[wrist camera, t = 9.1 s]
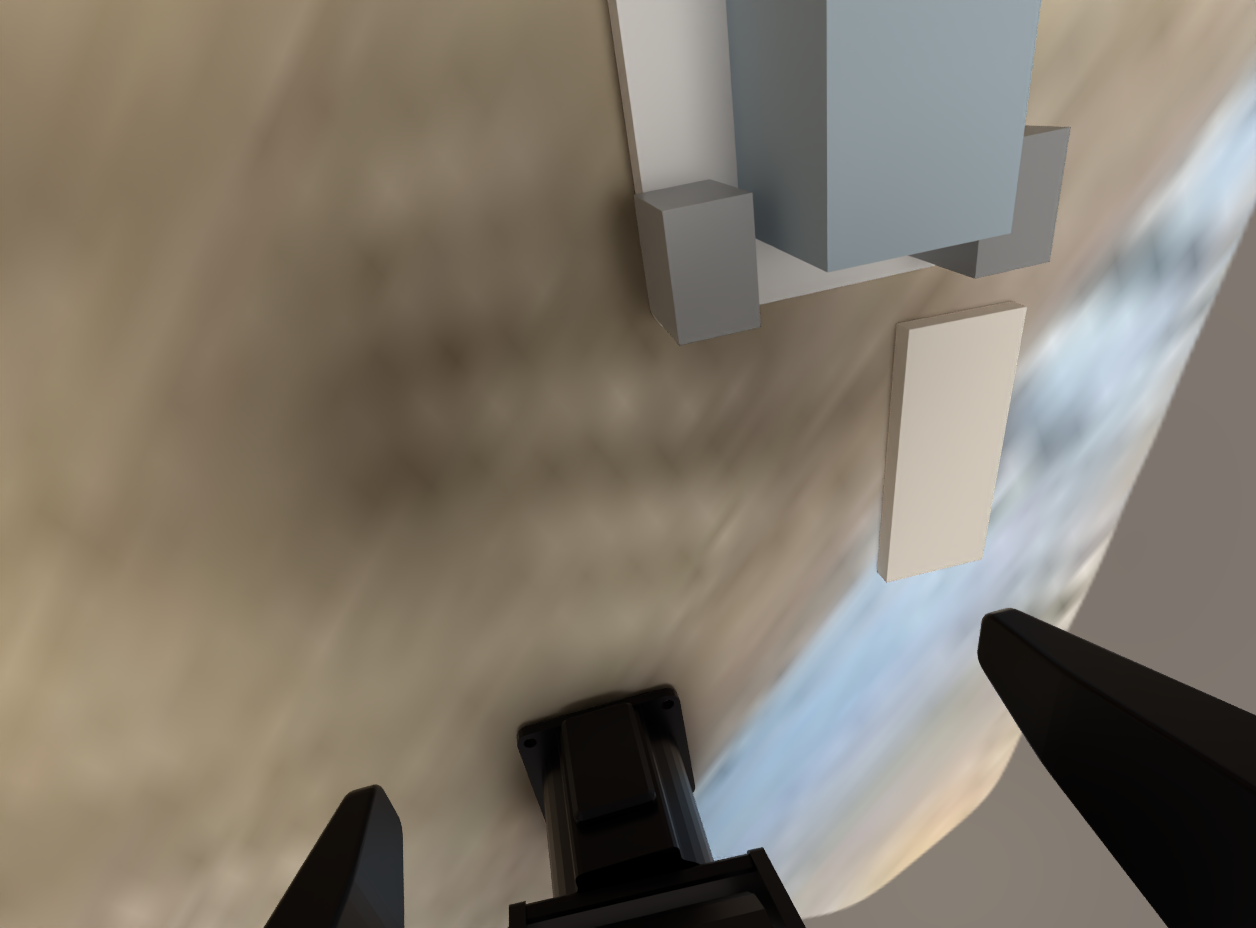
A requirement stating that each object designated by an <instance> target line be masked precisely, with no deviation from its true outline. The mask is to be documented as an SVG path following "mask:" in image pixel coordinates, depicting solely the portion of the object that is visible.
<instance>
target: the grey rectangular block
mask: <svg viewBox="0 0 1256 928" xmlns="http://www.w3.org/2000/svg"><path fill="white" fill-rule="evenodd" d="M1040 6H1041V0H726V11H727V26H728V41H729V56H730V72H731V87H732V102H733V117H734V132H735V147H736V162H737V177H738V188H739V189H743V190H746V191H749V192H752V193H753V208H754V225H755V238H756V239H758V240H760V241H762V242H764V243H766V244H769V245H771V246H773V247H775V248H777V249H779V250H781V251H783V252H785V253H787V254H790V255H792V256H794V257H796V258H798V259H800V260H802V261H804V262H806V263H809V264H811V265H813V266H815V267H817V268H819V269H821V270H823V271H825V272H832V271H837V270H842V269H846V268H851V267H856V266H860V265H865V264H870V263H874V262H879V261H884V260H888V259H893V258H898V257H902V256H907V255H912V254H916V253H921V252H926V251H930V250H935V249H940V248H944V247H949V246H954V245H958V244H963V243H968V242H972V241H977V240H982V239H986V238H991V237H996V236H1000V235H1005V234H1010V233H1011V229H1012V222H1013V214H1014V206H1015V198H1016V191H1017V183H1018V175H1019V168H1020V160H1021V152H1022V145H1023V137H1024V129H1025V121H1026V114H1027V106H1028V98H1029V91H1030V83H1031V75H1032V68H1033V60H1034V52H1035V44H1036V37H1037V29H1038V21H1039V14H1040Z"/></svg>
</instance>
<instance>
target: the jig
mask: <svg viewBox="0 0 1256 928" xmlns="http://www.w3.org/2000/svg"><path fill="white" fill-rule="evenodd" d="M607 1H608V7H609V14H610V21H611V28H612V35H613V42H614V49H615V56H616V63H617V70H618V77H619V84H620V91H621V97H622V104H623V111H624V118H625V125H626V132H627V139H628V146H629V153H630V160H631V167H632V174H633V181H634V188H635V194H634V195H633V197H634V204H635V211H636V217H637V224H638V231H639V238H640V245H641V252H642V258H643V265H644V272H645V279H646V286H647V293H648V300H649V306H650V311H651V313H652V314H653V317H654V318H655V320H656V321H657V322H658V323H659V324H660V326H661V327H664V328H665V329H666V330H667V332H668V333H669V334H670V335H671V336H672V337H673V339H674V340H675V341H676V342H677V343H678V345H684V344H688V343H693V342H697V341H702V340H706V339H710V338H715V337H719V336H724V335H728V334H732V333H737V332H741V331H746V330H750V329H755V328H759V327H761V323H760V306H759V305H761V304H766V303H770V302H775V301H779V300H784V299H788V298H793V297H797V296H802V295H806V294H811V293H815V292H820V291H824V290H829V289H833V288H838V287H842V286H847V285H851V284H856V283H860V282H865V281H869V280H874V279H878V278H883V277H887V276H892V275H896V274H900V273H905V272H909V271H914V270H918V269H923V268H927V267H932V266H936V265H937V266H940V267H943V268H946V269H949V270H952V271H955V272H957V273H960V274H963V275H966V276H969V277H972V278H975V279H976V278H980V277H984V276H989V275H993V274H998V273H1002V272H1007V271H1011V270H1015V269H1020V268H1024V267H1029V266H1033V265H1037V264H1042V263H1046V262H1050V256H1051V250H1052V243H1053V237H1054V230H1055V224H1056V218H1057V211H1058V205H1059V198H1060V192H1061V186H1062V179H1063V173H1064V166H1065V160H1066V154H1067V147H1068V141H1069V135H1070V128H1071V127H1052V126H1025V129H1024V137H1023V145H1022V152H1021V160H1020V168H1019V175H1018V183H1017V191H1016V198H1015V206H1014V214H1013V222H1012V229H1011V233H1010V234H1005V235H1000V236H996V237H991V238H986V239H982V240H977V241H972V242H968V243H963V244H958V245H954V246H949V247H944V248H940V249H935V250H930V251H926V252H921V253H916V254H912V255H907V256H902V257H898V258H893V259H888V260H884V261H879V262H874V263H870V264H865V265H860V266H856V267H851V268H846V269H842V270H837V271H832V272H825V271H823V270H821V269H819V268H817V267H815V266H813V265H811V264H809V263H806V262H804V261H802V260H800V259H798V258H796V257H794V256H792V255H790V254H787V253H785V252H783V251H781V250H779V249H777V248H775V247H773V246H771V245H769V244H766V243H764V242H762V241H760V240H758V239H756V238H755V225H754V208H753V193H752V192H749V191H746V190H743V189H739V188H738V177H737V162H736V147H735V132H734V117H733V102H732V87H731V72H730V56H729V41H728V26H727V11H726V0H607Z"/></svg>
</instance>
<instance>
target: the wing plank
mask: <svg viewBox="0 0 1256 928" xmlns="http://www.w3.org/2000/svg"><path fill="white" fill-rule="evenodd" d="M1026 310H1027V306H1024V305H1021V304H1018V303H1016V302H1013V301H1010V302H1005V303H1000V304H995V305H989V306H984V307H979V308H974V309H969V310H964V311H958V312H953V313H948V314H943V315H938V316H933V317H927V318H922V319H917V320H912V321H907V322H902V323H897V325H896V337H895V350H894V363H893V375H892V388H891V401H890V413H889V426H888V439H887V451H886V464H885V477H884V489H883V502H882V515H881V527H880V540H879V552H878V565H877V572H878V573H879V574H880V576H881V577H882V578H883V579H884V580H885V581H886V583H887V582H891V581H895V580H899V579H903V578H907V577H911V576H915V575H919V574H923V573H928V572H932V571H936V570H940V569H944V568H948V567H952V566H956V565H960V564H964V563H968V562H972V561H977V560H981V559H982V557H983V551H984V546H985V540H986V535H987V529H988V523H989V518H990V512H991V507H992V501H993V495H994V490H995V484H996V478H997V473H998V467H999V462H1000V456H1001V450H1002V445H1003V439H1004V434H1005V428H1006V422H1007V417H1008V411H1009V406H1010V400H1011V394H1012V389H1013V383H1014V377H1015V372H1016V366H1017V361H1018V355H1019V349H1020V344H1021V338H1022V333H1023V327H1024V321H1025V316H1026Z"/></svg>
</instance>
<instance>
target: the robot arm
mask: <svg viewBox="0 0 1256 928" xmlns="http://www.w3.org/2000/svg"><path fill="white" fill-rule="evenodd" d="M977 654H978V660H979V663H980V665H981V667H982V669H983V671H984V673H985V674H986V676H987V677H988V679H989V681H990V682H991V684H992V685H993V687H994V689H995V690H996V692H997V693H998V695H999V697H1000V698H1001V700H1002V701H1003V703H1004V705H1005V706H1006V708H1007V709H1008V711H1009V713H1010V714H1011V716H1012V717H1013V719H1014V720H1015V722H1016V724H1017V725H1018V727H1019V728H1020V730H1021V732H1022V733H1023V735H1024V736H1025V738H1026V740H1027V741H1028V743H1029V744H1030V746H1031V747H1032V749H1033V750H1034V752H1035V754H1036V755H1037V757H1038V758H1039V759H1040V761H1041V762H1042V764H1043V765H1044V766H1045V768H1046V769H1047V770H1048V772H1049V773H1050V775H1051V776H1052V777H1053V779H1054V780H1055V781H1056V782H1057V784H1058V785H1059V786H1060V788H1061V789H1062V790H1063V792H1064V793H1065V794H1066V795H1067V797H1068V798H1069V799H1070V801H1071V802H1072V803H1073V804H1074V806H1075V807H1076V808H1077V810H1078V811H1079V812H1080V814H1081V815H1082V816H1083V818H1084V819H1085V820H1086V821H1087V823H1088V824H1089V825H1090V827H1091V828H1092V829H1093V830H1094V832H1095V833H1096V835H1097V836H1098V837H1099V838H1100V840H1101V841H1102V842H1103V843H1104V845H1105V846H1106V847H1107V849H1108V850H1109V851H1110V853H1111V854H1112V855H1113V857H1114V858H1115V859H1116V860H1117V862H1118V863H1119V864H1120V866H1121V867H1122V868H1123V870H1124V871H1125V872H1126V874H1127V875H1128V876H1129V877H1130V879H1131V880H1132V881H1133V883H1134V884H1135V885H1136V887H1137V888H1138V889H1139V890H1140V892H1141V893H1142V894H1143V896H1144V897H1145V898H1146V900H1147V901H1148V902H1149V903H1150V904H1151V906H1152V907H1153V909H1154V910H1155V911H1156V913H1158V915H1159V916H1160V918H1161V919H1162V920H1163V922H1164V923H1165V924H1166V926H1167V927H1168V928H1256V715H1254V714H1252V713H1249V712H1247V711H1245V710H1242V709H1240V708H1238V707H1236V706H1234V705H1231V704H1229V703H1227V702H1225V701H1222V700H1220V699H1217V698H1216V697H1213V696H1211V695H1209V694H1206V693H1204V692H1202V691H1200V690H1197V689H1195V688H1193V687H1191V686H1188V685H1186V684H1184V683H1182V682H1179V681H1177V680H1175V679H1173V678H1170V677H1168V676H1166V675H1164V674H1161V673H1159V672H1157V671H1154V670H1152V669H1150V668H1148V667H1146V666H1143V665H1141V664H1139V663H1137V662H1134V661H1132V660H1130V659H1127V658H1125V657H1123V656H1121V655H1118V654H1116V653H1114V652H1111V651H1109V650H1107V649H1105V648H1102V647H1100V646H1098V645H1096V644H1093V643H1091V642H1089V641H1087V640H1085V639H1082V638H1080V637H1078V636H1075V635H1073V634H1071V633H1069V632H1067V631H1064V630H1062V629H1060V628H1058V627H1055V626H1053V625H1051V624H1048V623H1046V622H1044V621H1042V620H1039V619H1037V618H1035V617H1033V616H1030V615H1028V614H1026V613H1024V612H1021V611H1019V610H1016V609H1013V608H1005V609H1001V610H998V611H994V612H991V613H988V614H986V615H985V616H984V617H983V619H982V622H981V629H980V636H979V643H978V650H977ZM666 700H668V701H666ZM531 738H532V739H531ZM517 747H518V749H519V752H520V755H521V757H522V760H523V763H524V765H525V768H526V771H527V773H528V776H529V779H530V781H531V784H532V787H533V789H534V792H535V795H536V797H537V800H538V803H539V805H540V808H541V811H542V813H543V816H544V819H545V821H546V827H547V838H548V848H549V858H550V869H551V879H552V889H553V898H551V899H547V900H542V901H538V902H533V903H529V904H526V901H524V902H519V903H515V904H510V905H509V927H508V928H806V927H805V925H804V923H803V921H802V920H801V918H800V916H799V914H798V912H797V910H796V908H795V906H794V905H793V903H792V901H791V899H790V897H789V895H788V893H787V891H786V890H785V888H784V886H783V884H782V882H781V880H780V878H779V876H778V875H777V873H776V871H775V869H774V867H773V865H772V863H771V861H770V859H769V858H768V856H767V854H766V852H765V850H764V848H763V847H761V848H756V849H752V850H748V851H747V854H744V855H739V856H735V857H730V858H726V859H722V860H717V861H714V860H713V857H712V853H711V850H710V847H709V844H708V841H707V838H706V834H705V831H704V828H703V825H702V822H701V818H700V815H699V812H698V809H697V806H696V803H695V799H694V796H693V792H694V790H695V784H694V778H693V772H692V767H691V761H690V755H689V750H688V744H687V738H686V733H685V727H684V721H683V716H682V710H681V704H680V700H679V697H678V694H677V692H676V690H674V689H673V688H663V689H659V690H656V691H652V692H648V693H645V694H641V695H638V696H634V697H630V698H627V699H623V700H619V701H616V702H612V703H609V704H605V705H601V706H598V707H594V708H591V709H587V710H583V711H580V712H576V713H572V714H569V715H565V716H562V717H558V718H554V719H551V720H547V721H543V722H540V723H536V724H533V725H529V726H526V727H523V728H522V729H520V730H519V731H518V733H517ZM264 928H404V879H403V833H402V826H401V822H400V819H399V817H398V815H397V813H396V811H395V809H394V808H393V806H392V804H391V802H390V800H389V799H388V797H387V795H386V793H385V792H384V790H383V789H382V787H381V786H379V785H371V786H367V787H363V788H360V789H356V790H353V791H351V792H349V793H348V794H347V795H346V796H345V797H344V799H343V800H342V802H341V803H340V805H339V807H338V808H337V810H336V812H335V813H334V815H333V816H332V818H331V820H330V821H329V823H328V824H327V826H326V828H325V829H324V831H323V833H322V834H321V836H320V837H319V839H318V841H317V842H316V844H315V845H314V847H313V849H312V850H311V852H310V854H309V855H308V857H307V858H306V860H305V862H304V863H303V865H302V866H301V868H300V870H299V871H298V873H297V875H296V876H295V878H294V879H293V881H292V883H291V884H290V886H289V887H288V889H287V891H286V892H285V894H284V896H283V897H282V899H281V900H280V902H279V904H278V905H277V907H276V908H275V910H274V912H273V913H272V915H271V917H270V918H269V920H268V921H267V923H266V925H265V926H264Z"/></svg>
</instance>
